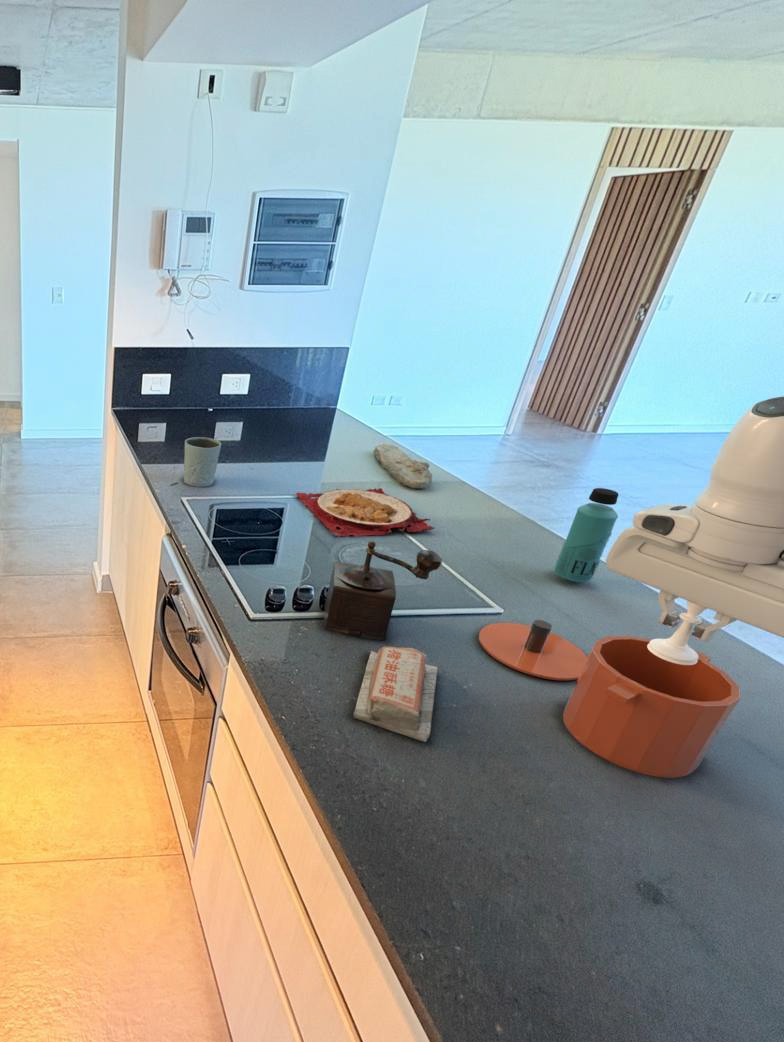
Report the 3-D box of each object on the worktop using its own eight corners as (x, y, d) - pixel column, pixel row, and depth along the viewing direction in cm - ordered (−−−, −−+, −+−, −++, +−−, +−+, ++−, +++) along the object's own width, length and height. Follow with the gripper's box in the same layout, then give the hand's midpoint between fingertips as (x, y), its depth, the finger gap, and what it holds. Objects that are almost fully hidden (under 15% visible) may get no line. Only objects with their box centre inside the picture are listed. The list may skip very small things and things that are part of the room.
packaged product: (436, 719, 84) (358, 694, 89) (427, 745, 87) (352, 720, 91) (443, 650, 98) (375, 632, 103) (435, 674, 100) (369, 655, 105)
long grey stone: (396, 456, 201) (364, 456, 202) (399, 440, 199) (366, 441, 200) (440, 490, 169) (401, 491, 171) (444, 472, 167) (404, 472, 169)
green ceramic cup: (181, 474, 184) (184, 436, 179) (215, 476, 183) (219, 437, 178) (182, 487, 175) (185, 447, 170) (218, 488, 174) (222, 448, 169)
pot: (728, 750, 85) (774, 679, 79) (646, 800, 78) (690, 726, 72) (608, 687, 97) (641, 621, 91) (528, 726, 90) (558, 657, 84)
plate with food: (379, 494, 169) (382, 483, 168) (433, 533, 146) (437, 519, 145) (294, 498, 169) (296, 486, 167) (334, 537, 146) (337, 523, 144)
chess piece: (694, 670, 78) (731, 603, 73) (643, 652, 81) (676, 587, 76) (699, 654, 80) (736, 589, 76) (650, 638, 84) (682, 574, 79)
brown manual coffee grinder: (322, 632, 111) (341, 543, 103) (324, 601, 121) (341, 518, 112) (418, 651, 106) (446, 559, 98) (412, 617, 115) (437, 531, 107)
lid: (609, 667, 101) (624, 637, 99) (550, 694, 96) (564, 663, 93) (514, 619, 114) (524, 591, 112) (457, 640, 109) (467, 611, 106)
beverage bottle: (560, 587, 124) (598, 496, 115) (543, 571, 130) (577, 483, 121) (597, 590, 123) (637, 498, 114) (577, 574, 129) (614, 485, 120)
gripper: (876, 567, 66) (808, 670, 72) (648, 500, 82) (609, 589, 89) (849, 580, 63) (781, 685, 69) (621, 508, 80) (582, 599, 86)
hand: (683, 630), depth 79 cm, fingers closed on chess piece
